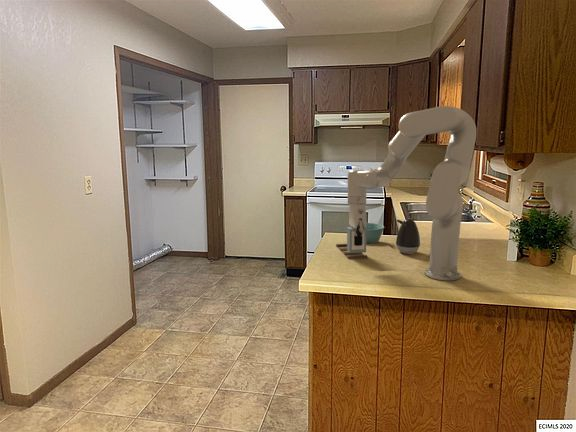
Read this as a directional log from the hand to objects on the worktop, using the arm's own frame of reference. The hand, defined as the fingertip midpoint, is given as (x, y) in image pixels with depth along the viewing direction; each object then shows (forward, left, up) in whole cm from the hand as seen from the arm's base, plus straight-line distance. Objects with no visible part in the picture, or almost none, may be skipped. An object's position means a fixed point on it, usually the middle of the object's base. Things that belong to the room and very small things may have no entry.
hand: (356, 243), depth 172 cm
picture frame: (0, 0, -3) cm, 3 cm away
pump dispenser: (+8, -26, -7) cm, 28 cm away
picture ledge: (+7, 0, -7) cm, 10 cm away
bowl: (+28, -14, -7) cm, 32 cm away
